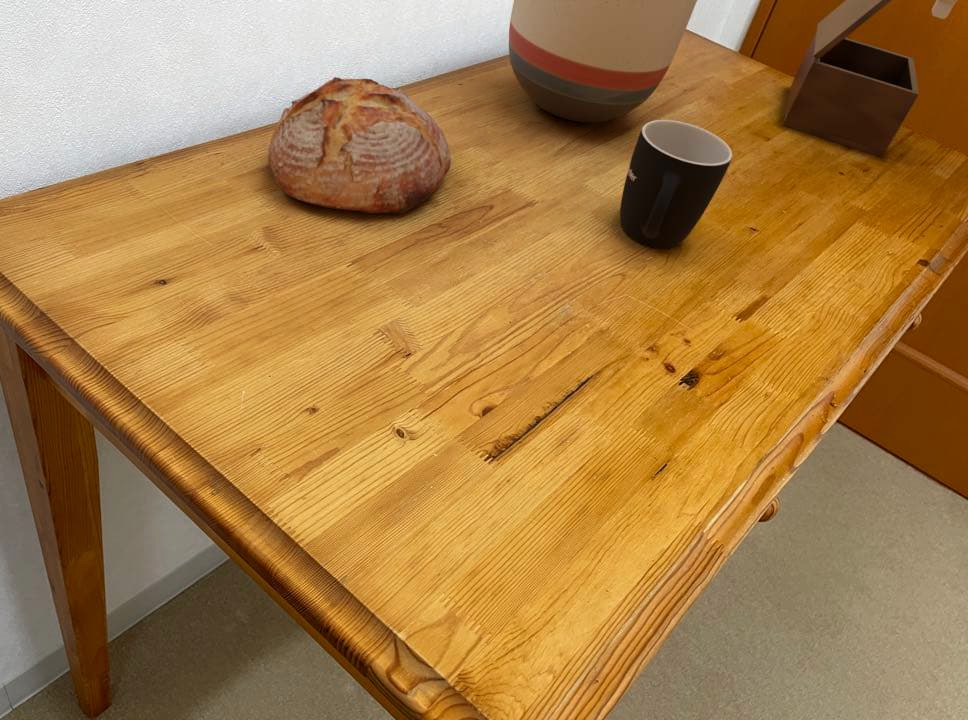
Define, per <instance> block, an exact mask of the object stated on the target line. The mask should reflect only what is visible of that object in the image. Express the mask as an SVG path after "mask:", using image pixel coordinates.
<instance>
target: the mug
mask: <svg viewBox="0 0 968 720" xmlns="http://www.w3.org/2000/svg"><path fill="white" fill-rule="evenodd" d="M732 160H733V151H732V149H731V148H730V146H729V145H728V144H727V142H725V141H724V140H723V139H722V138H720V137H719V136H717V135H716V134H714V133H713V132H711V131H708V130H706V129H704V128H702V127H700V126H697V125H694V124H690V123H687V122H682V121H679V120H672V119H657V120H656V119H655V120H651V121H649V122H647V123H645V124H644V125H643V126H642V128H641V130H640V132H639V134H638V137H637V140H636V143H635V146H634V149H633V152H632V156H631V160H630V163H629V166H628V170H627V173H626V177H625V181H624V185H623V190H622V195H621V201H620V207H619V223H620V227H621V229H622V230H623V232H624V234H625V235H627V236H628V237H629V238H630V239H631V240H633V241H635V242H637V243H638V244H641V245H643V246H646V247H648V248H653V249H658V250H659V249H661V250H662V249H663V250H665V249H666V250H667V249H673V248H675V247H677V246H678V245H680V244H681V243H682V242H683V241H685V239H686V238H687V237H688V236H689V235H690V234H691V232H692V231H693V230H694V228H695V226H696V225H697V224H698V222H699V221H700V220H701V218H702V216H703V215H704V213H705V212H706V210H707V208H708V206H709V205H710V203H711V201H712V200H713V198H714V196H715V194H716V192H717V191H718V190H719V189H718V188H719V187H720V185H721V183H722V182H723V179H724V177H725V175H726V173H727V171H728V169H729V166H730V164H731V162H732Z"/></svg>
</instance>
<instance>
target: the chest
mask: <svg viewBox="0 0 968 720" xmlns="http://www.w3.org/2000/svg"><path fill="white" fill-rule="evenodd" d="M816 34H817V31H816V32H815V34H814V36H813V39H812V41H811V43H810V45H809V47H808V48H807V51H806V53H805V56H804V57H803V59H802V61H801V63H800V66H799V68H798V70H797V72H796V74H795V76H794V77H793V78H794V79H793V80H792V81H791V82H792V83H791V85H790V87H789V90H788V95H787V101H786V105H785V111H784V115H783V122H782V126H783V127H787V128H790V129H793V130H796V131H799V132H802V133H805V134H808V135H810V136H814V137H818V138H821V139H824V140H826V141H830V142H833V143H835V144H839V145H842V146H845V147H848V148H851V149H854V150H857V151H860V152H863V153H866V154H870V155H872V156H876V157H880V158H883V157H884V155H885V154H886V152H887V150H888V148H889V147H890V145H891V143H892V142H893V140H894V138H895V136H896V135H897V134H898V131H899V129H900V127H902V125H903V123H904V121H905V119H906V118H907V116H908V114H909V113H910V111H911V110H912V107H913V106H914V104H915V103H916V100H917V99H918V97H919V95H920V93H919V86H918V80H917V74H916V67H915V62H914V58H913V57H911V56H907V55H903V54H900V53H897V52H894V51H890V50H887V49H884V48H880V47H877V46H875V45H871V44H867V43H864V42H861V41H857V40H854V39H852V38H851V39H850V38H848V37H846V38H844V39H843V40H842V41H841V42H839V43H838V44H837V45H836V46H834V47H833V48H832V49H831V50H829V51H828V52H827V53H826V54H824V55H823V56H822V57H821V58H819V59H818V60H817V59H816V58H815V57H814V49H815V41H816Z"/></svg>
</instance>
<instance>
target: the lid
mask: <svg viewBox="0 0 968 720" xmlns="http://www.w3.org/2000/svg"><path fill="white" fill-rule="evenodd" d="M891 1H893V0H845V1H843V2H842V3H841V4H840V5H838V6H837V7H836V8H835V9H834V10H833V11H831V12H829V14H828V15H826V16H825V17H824V18H823V19H821V21H819V22H818V23H817V27H816V32H817V34H816V33H815V34H816V41H815V49H814V57H815V58H816V59H817V60H818V59H819V58H821V57H822V56H823V55H824V54H826V53H827V52H828V51H829V50H831V49H832V48H833V47H834V46H836V45H837V44H838V43H839V42H841V41H842V40H843V39H844V38H848V37H849V35H850V34H852V33H853V32H854V31H856V30H857V29H858V28H860V26H862V25H864V24H865V23H866V22H867V21H868V20H870V19H871V18H872V17H873V16H875V14H877V13H878V12H879V11H881V10H882V9H883V8H885V7H886V6H887V5H888V4H889V3H891Z"/></svg>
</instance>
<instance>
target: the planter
mask: <svg viewBox="0 0 968 720" xmlns="http://www.w3.org/2000/svg"><path fill="white" fill-rule="evenodd" d="M697 1H698V0H513V2H512V8H511V13H510V19H509V28H508V55H509V60H510V66H511V68H512V72H513V74H514V76H515V78H516V80H517V83H518V84H519V86H520V87H521V88H522V90H523V91H524V93H525V94H526V95H527V96H528V97H529V98H530V99H531V101H532V102H534V103H535V104H536V105H537V106H538V107H540V108H541V109H543V110H544V111H546V112H548V113H550V114H551V115H552V114H553V115H554V116H556V117H559V118H562V119H565V120H569V121H573V122H578V123H600V122H601V123H602V122H607V121H611V120H613V119H617V118H620V117H622V116H625V115H626V114H628V113H630V112H632V111H633V110H636V109H637V108H638V107H640V106H641V105H643V104H644V103H645V102H646V101H647V100H648V99H649V98H650V97H651V96H652V94H653V93H654V92H655V91H656V89H657V88H658V87H659V85H660V84H661V82H662V80H663V78H664V77H665V75H666V74H667V72H668V70H669V68H670V66H671V64H672V62H673V60H674V57H675V54H676V53H677V50H678V48H679V46H680V44H681V41H682V39H683V36H684V35H685V32H686V30H687V27H688V25H689V22H690V19H691V17H692V15H693V12H694V9H695V6H696V4H697Z"/></svg>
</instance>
